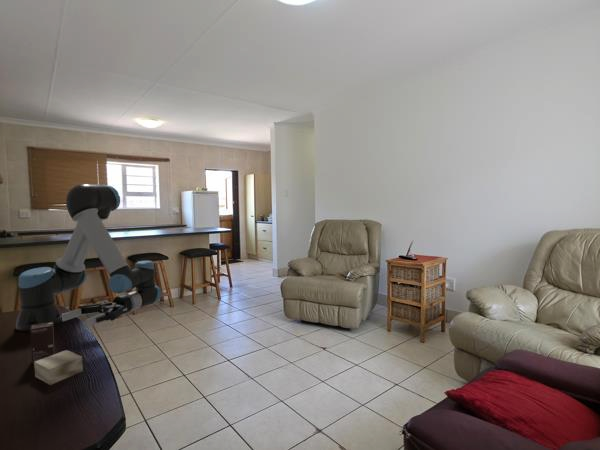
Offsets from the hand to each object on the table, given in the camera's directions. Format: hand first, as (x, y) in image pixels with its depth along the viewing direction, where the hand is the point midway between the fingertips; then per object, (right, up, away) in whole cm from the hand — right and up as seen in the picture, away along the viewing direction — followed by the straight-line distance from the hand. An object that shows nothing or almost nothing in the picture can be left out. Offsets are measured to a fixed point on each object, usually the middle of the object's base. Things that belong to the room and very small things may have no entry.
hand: (73, 320), depth 120 cm
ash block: (+7, -12, -16) cm, 21 cm away
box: (-5, -11, -8) cm, 14 cm away
